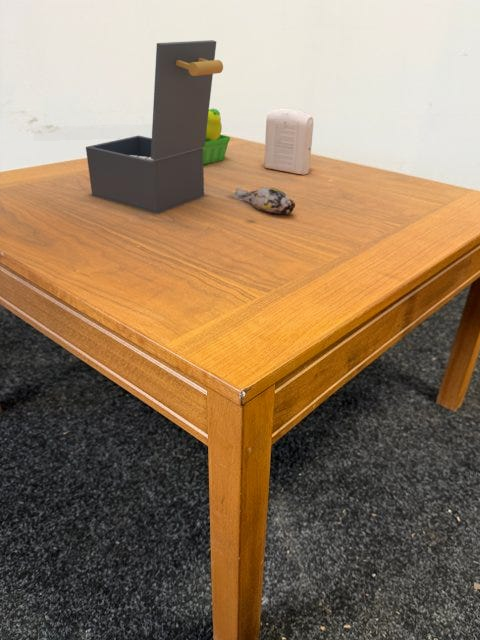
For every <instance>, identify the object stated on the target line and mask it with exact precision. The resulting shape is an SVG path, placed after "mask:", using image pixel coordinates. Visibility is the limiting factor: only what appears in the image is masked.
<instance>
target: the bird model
mask: <svg viewBox="0 0 480 640" xmlns="http://www.w3.org/2000/svg"><path fill="white" fill-rule="evenodd" d="M235 191H236V192H233V194H232V195H231V196H230V197H232V198H234V199H237V200H240V201H245V202H247V203H248V204H249V205H251V207H253V208H255V209H256V210H258V211H261V212H264V213H267V214H275V215H291V214H292V212H293V211H294V208H295V207H296V203H295V202H294V201H295V200H294V199H291V197H289V196H287V194H286V193H285V192H284V191H282V190H279V189H278V188H276V187H275V188H274V187H261V188H259V189H257V190H252V191H248V190H244V189H242V188H235Z"/></svg>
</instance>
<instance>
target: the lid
mask: <svg viewBox="0 0 480 640" xmlns="http://www.w3.org/2000/svg"><path fill="white" fill-rule="evenodd" d="M155 48H156V49H155V50H156V51H155V69H154V70H155V71H154V87H153V88H154V89H153V107H152V125H151V126H152V127H151V128H152V129H151V138H152V143H151V159H153V160H156V159H160V158H164V157H167V156H171V155H175V154H178V153H182V152H186V151H190V150H193V149H197V148H201V147H205V139H206V130H207V121H208V112H209V110H210V102H211V93H212V85H213V75H215V74H221V73H222V72H223V70H224V64H223V61H222V60H221V59H215V58H216V49H217V41H216V40H214V39H211V40H193V41H192V40H191V41H171V42H169V41H168V42H157V43H156V47H155Z"/></svg>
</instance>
